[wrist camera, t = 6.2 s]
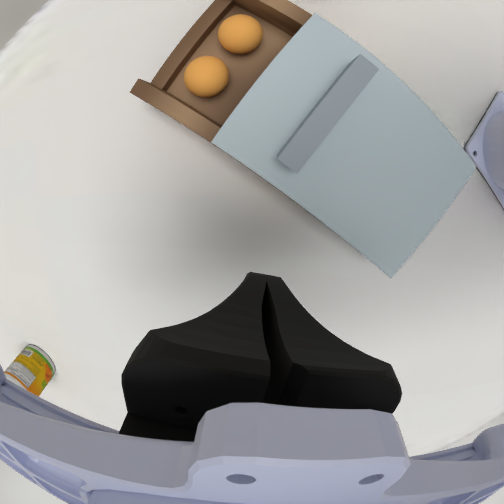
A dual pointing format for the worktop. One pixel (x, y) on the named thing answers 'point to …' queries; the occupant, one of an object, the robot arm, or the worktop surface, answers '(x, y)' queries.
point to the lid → (348, 144)
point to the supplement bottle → (31, 370)
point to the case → (239, 65)
